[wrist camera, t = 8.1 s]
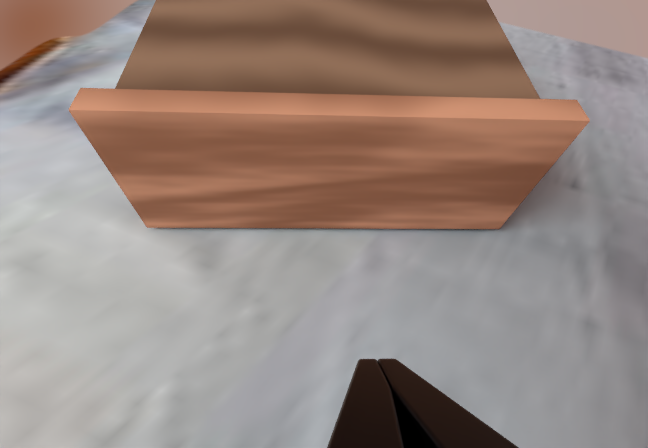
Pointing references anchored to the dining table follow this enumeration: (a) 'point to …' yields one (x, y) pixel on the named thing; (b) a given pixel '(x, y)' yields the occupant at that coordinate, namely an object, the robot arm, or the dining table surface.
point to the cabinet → (327, 48)
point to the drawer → (324, 156)
